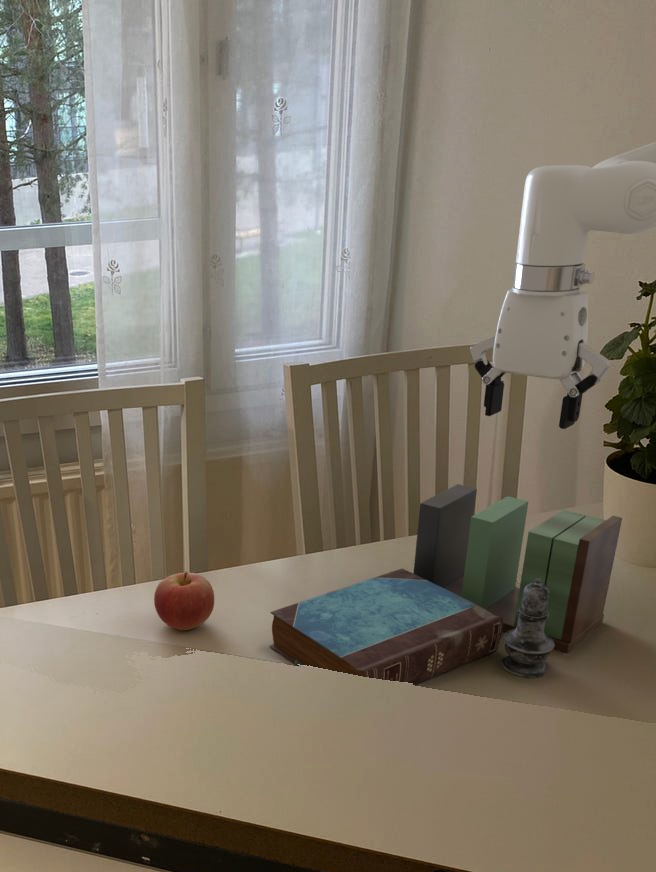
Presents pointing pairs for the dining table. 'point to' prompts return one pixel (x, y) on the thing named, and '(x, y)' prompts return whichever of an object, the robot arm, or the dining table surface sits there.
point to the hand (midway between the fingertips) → (528, 419)
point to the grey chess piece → (529, 635)
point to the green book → (494, 551)
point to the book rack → (526, 562)
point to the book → (386, 629)
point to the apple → (184, 600)
